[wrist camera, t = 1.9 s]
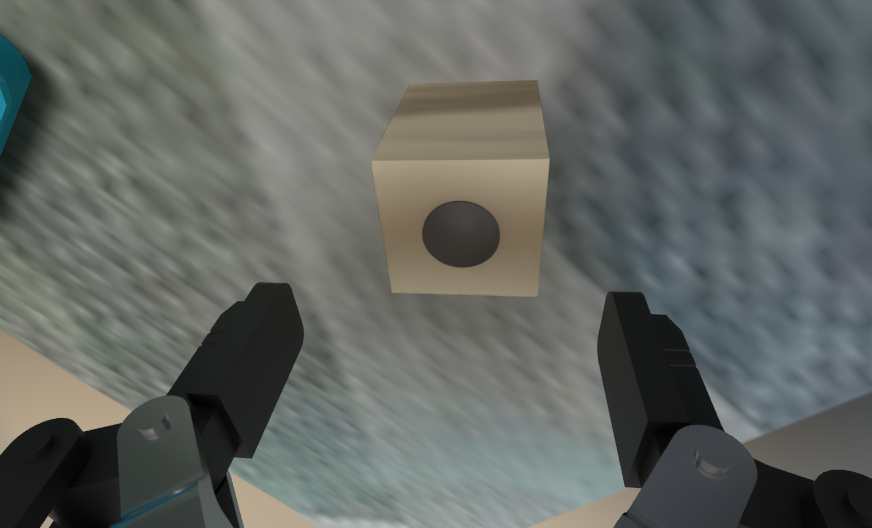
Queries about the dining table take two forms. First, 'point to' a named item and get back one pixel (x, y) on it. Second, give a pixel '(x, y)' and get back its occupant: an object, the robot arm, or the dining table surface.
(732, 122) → the dining table surface
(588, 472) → the dining table surface
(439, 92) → the birch block
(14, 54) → the ice cube tray
